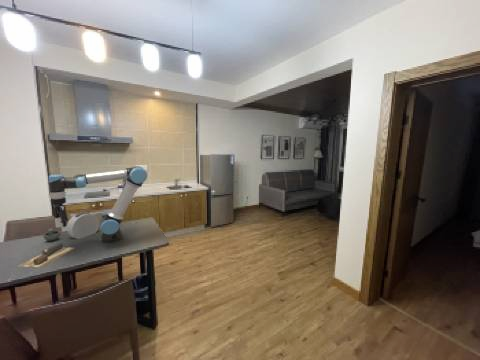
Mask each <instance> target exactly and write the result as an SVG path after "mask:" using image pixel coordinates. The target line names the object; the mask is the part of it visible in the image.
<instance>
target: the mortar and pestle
mask: <svg viewBox="0 0 480 360" xmlns="http://www.w3.org/2000/svg"><path fill="white" fill-rule="evenodd" d="M47 231H48V232H45V233H43V239H44V240H45V241H47V242H50V243H51V242H55V241H57V240H58V239H60V237H61V230H54V229H53V228H49V229H48V230H47Z"/></svg>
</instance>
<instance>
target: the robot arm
mask: <svg viewBox="0 0 480 360" xmlns="http://www.w3.org/2000/svg"><path fill="white" fill-rule="evenodd" d="M147 178H148V173H147V171H146V169H144V167H142V166H139V165H137V166H133V167H127V168H126V167H125V168H124V169H120V170H111V171H103V172H95V173H94V172H93V173H86V174H75V175H74V176H73V177H64V175H63V174H50V175H49V176H48V187H49V197H50V203H51V205H52V206H53V215H52V216H53V217H54V223H55V228H61V232H63V233H64V232H67V231H68V230H67V224H68V222H69V220H68V214H67V211H66V206H64V205H63V204H66V203H67V198H66V194H67V192H66V189H84V188H86V187H87V185H89V184H96V183H97V184H98V183H106V182H115V181H120V180H121V181H122V180H125V182H126V183H125V185H124V187H123V188H122V191H121V192H120V194H119V196H118V198H117V200H116V201H115V203H114V205H113V207H112V208H111V210H109V211H104V212H102V213H101V218H102V220H101V223H100V225H99V227H100V231H101V232H102V234H101V237H100V240H101V242H102V243H106V244H107V243H114V242H115V243H116V242H117V241H120V240H122V239H123V238H124V233H123V232H122V229H121V224H122V222H123V220H124V214H125V212H126V210H127V209H128V207H129V205H130V203H131V202H132V199H133V197H134V196H135V194H136V192H137V190H138V189H140V188H141V187H143V184H144V183H145V181H147Z"/></svg>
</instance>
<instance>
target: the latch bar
mask: <svg viewBox="0 0 480 360" xmlns="http://www.w3.org/2000/svg"><path fill="white" fill-rule="evenodd" d="M61 248H63V243H62V242H58V243H56V244H53V245H52V246H50V247H48V248H46V249H44V250H41V254H42V255H47V256H50V255H51V254H52V253H54V252H56V251H58V250H60V249H61Z"/></svg>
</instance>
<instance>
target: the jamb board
mask: <svg viewBox="0 0 480 360" xmlns="http://www.w3.org/2000/svg"><path fill="white" fill-rule="evenodd" d="M75 249H76V247H63V248H61V249H60V250H58V251H56V252H54V253H52V254H51V255H50V256H47V255H42V253H40V254H38V255H36V256H35V257H32V258H31V259H28V260H27V261H24V262H22V263H20V264H18V267H21V268H23V267H24V268H25V267H27V268H28V267H29V268H44V267H46V266H47V265H50V264H51V263H53V262H54V261H56V260H57V259H59V258H61V257H63V256H65V255H66V254H68V253H69V252H71V251H73V250H75Z"/></svg>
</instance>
